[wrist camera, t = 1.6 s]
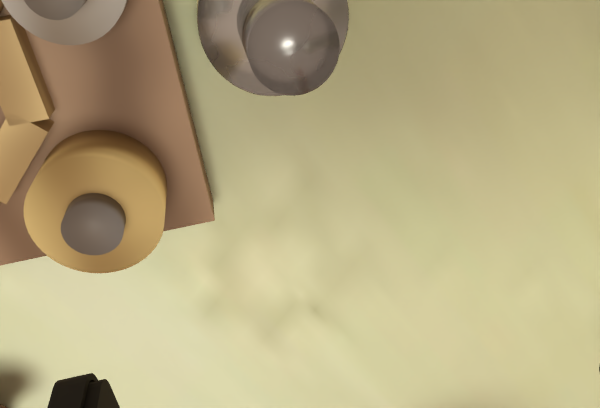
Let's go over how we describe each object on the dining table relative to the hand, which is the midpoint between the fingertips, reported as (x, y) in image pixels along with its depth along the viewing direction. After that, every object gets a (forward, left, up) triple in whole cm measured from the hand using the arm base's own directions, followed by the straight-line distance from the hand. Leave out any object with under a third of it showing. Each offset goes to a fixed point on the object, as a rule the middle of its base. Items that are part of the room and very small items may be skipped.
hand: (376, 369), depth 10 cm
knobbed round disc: (-1, -3, -19) cm, 20 cm away
